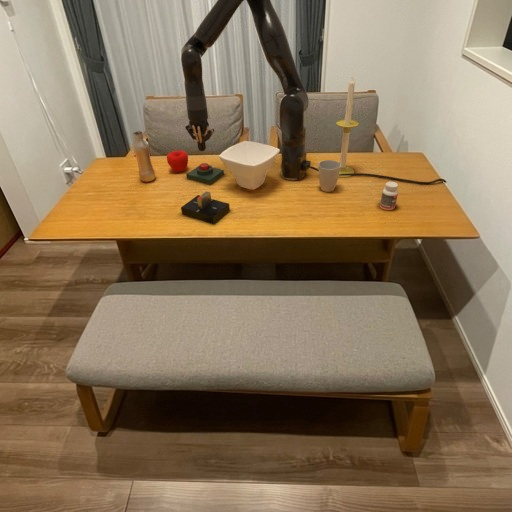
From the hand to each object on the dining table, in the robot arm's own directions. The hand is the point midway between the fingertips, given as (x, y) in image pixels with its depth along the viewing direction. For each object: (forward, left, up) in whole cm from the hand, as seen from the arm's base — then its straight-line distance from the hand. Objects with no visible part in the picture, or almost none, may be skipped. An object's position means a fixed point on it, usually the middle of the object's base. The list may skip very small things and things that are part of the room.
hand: (202, 150), depth 154 cm
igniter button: (0, 0, -8) cm, 8 cm away
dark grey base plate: (0, 0, -12) cm, 12 cm away
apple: (+14, 0, -12) cm, 18 cm away
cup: (-49, -13, -12) cm, 52 cm away
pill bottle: (-73, -10, -12) cm, 75 cm away
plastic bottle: (+20, +13, -12) cm, 27 cm away
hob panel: (-17, +23, -12) cm, 31 cm away
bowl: (-21, -2, -12) cm, 24 cm away
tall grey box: (-17, +23, -8) cm, 30 cm away
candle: (-49, -29, -12) cm, 58 cm away
